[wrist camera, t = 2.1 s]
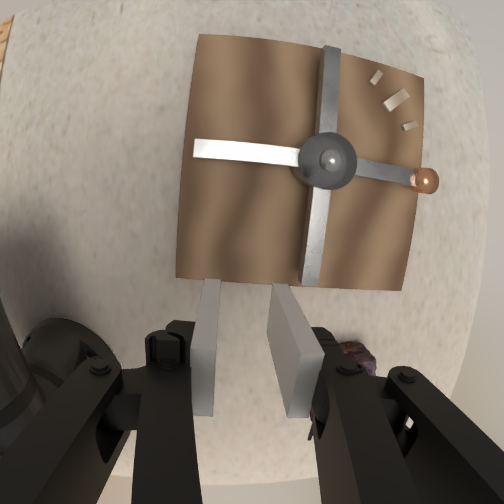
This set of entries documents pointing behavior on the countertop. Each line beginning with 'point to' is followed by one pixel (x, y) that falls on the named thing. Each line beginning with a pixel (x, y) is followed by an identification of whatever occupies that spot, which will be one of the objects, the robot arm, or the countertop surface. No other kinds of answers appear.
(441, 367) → the countertop surface
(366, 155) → the board
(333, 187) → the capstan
